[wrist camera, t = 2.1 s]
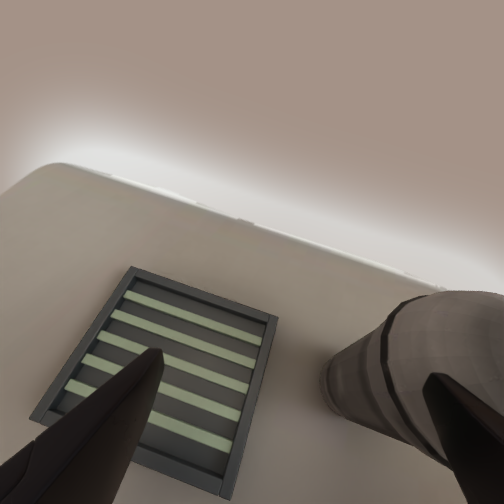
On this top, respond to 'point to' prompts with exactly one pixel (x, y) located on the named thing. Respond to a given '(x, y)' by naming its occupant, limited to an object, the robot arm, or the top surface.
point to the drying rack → (176, 374)
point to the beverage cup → (419, 365)
